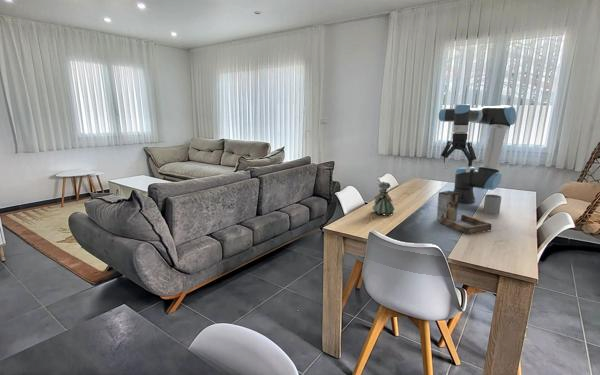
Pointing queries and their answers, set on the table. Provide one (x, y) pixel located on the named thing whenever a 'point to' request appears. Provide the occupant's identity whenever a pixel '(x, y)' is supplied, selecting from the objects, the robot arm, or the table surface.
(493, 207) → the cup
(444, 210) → the coffee box
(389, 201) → the figurine
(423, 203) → the table surface
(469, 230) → the cradle
